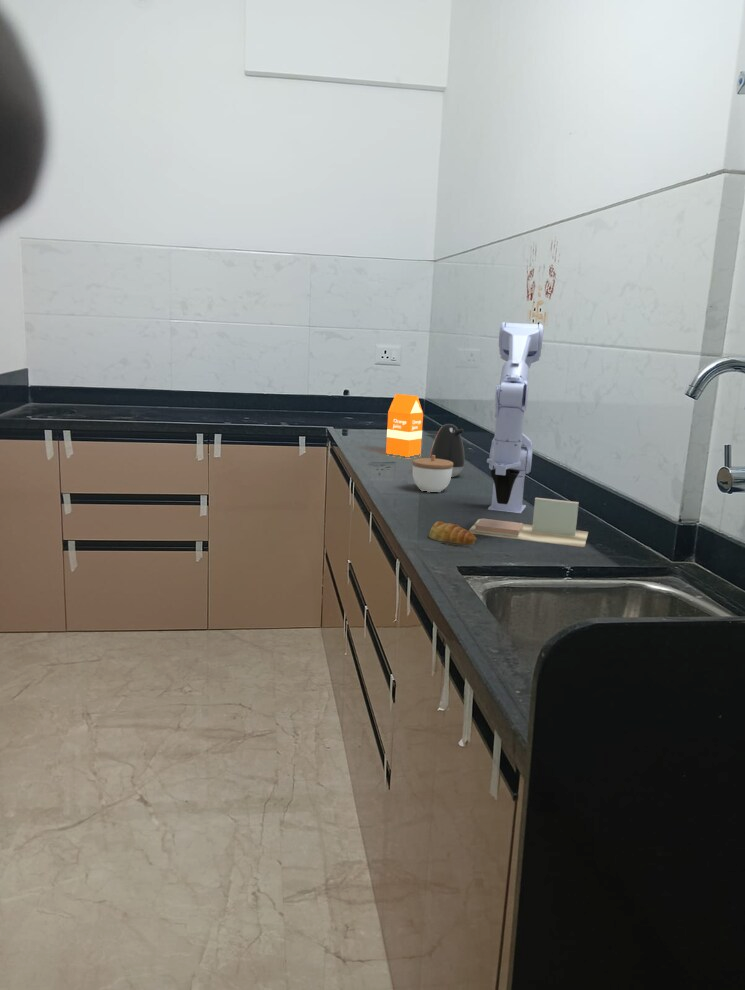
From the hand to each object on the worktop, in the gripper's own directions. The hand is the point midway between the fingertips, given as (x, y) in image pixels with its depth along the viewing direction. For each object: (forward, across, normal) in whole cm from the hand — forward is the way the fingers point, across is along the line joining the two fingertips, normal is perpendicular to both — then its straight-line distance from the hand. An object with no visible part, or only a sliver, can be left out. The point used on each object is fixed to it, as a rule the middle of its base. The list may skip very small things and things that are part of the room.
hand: (502, 503), depth 177 cm
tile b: (+6, -3, +11) cm, 13 cm away
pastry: (+7, +13, -8) cm, 17 cm away
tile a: (+5, -2, 0) cm, 5 cm away
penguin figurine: (+6, -59, -25) cm, 64 cm away
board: (+6, 0, +6) cm, 9 cm away
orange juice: (+6, -88, -46) cm, 100 cm away
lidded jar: (+6, -36, -24) cm, 44 cm away
